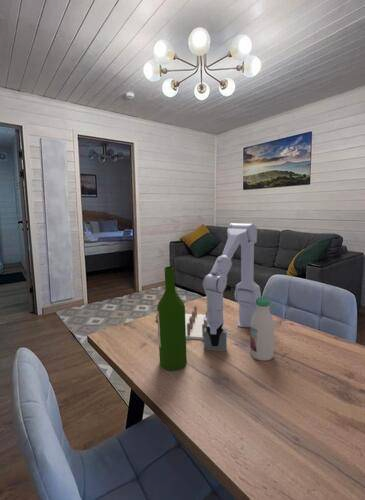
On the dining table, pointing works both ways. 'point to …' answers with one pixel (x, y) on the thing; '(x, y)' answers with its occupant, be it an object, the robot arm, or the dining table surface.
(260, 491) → the dining table surface
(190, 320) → the peg rack
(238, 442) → the dining table surface
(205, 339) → the slate grey rectangular block
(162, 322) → the wine bottle
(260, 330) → the milk bottle
